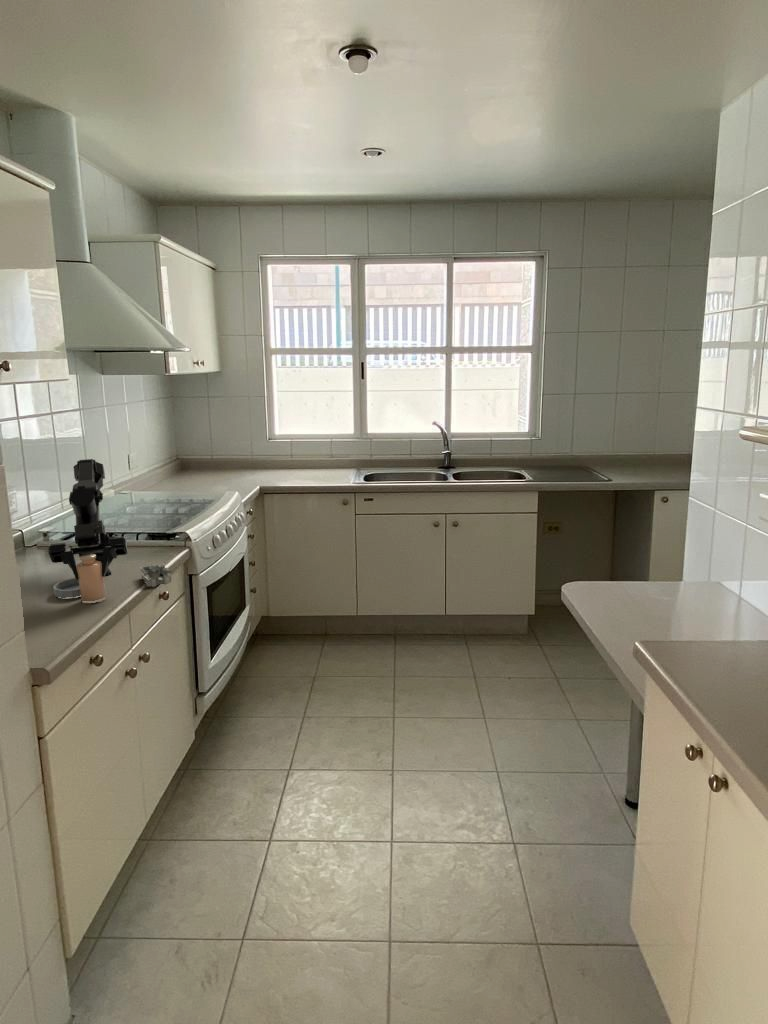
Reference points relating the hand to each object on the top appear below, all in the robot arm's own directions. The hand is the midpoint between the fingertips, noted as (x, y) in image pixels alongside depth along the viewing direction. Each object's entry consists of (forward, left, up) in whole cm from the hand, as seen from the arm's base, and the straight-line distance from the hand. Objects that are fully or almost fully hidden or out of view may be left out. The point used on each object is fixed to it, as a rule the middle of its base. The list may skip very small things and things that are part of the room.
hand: (90, 577), depth 174 cm
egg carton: (-7, +18, -7) cm, 21 cm away
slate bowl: (-10, -3, -7) cm, 13 cm away
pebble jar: (-1, 0, -7) cm, 7 cm away
